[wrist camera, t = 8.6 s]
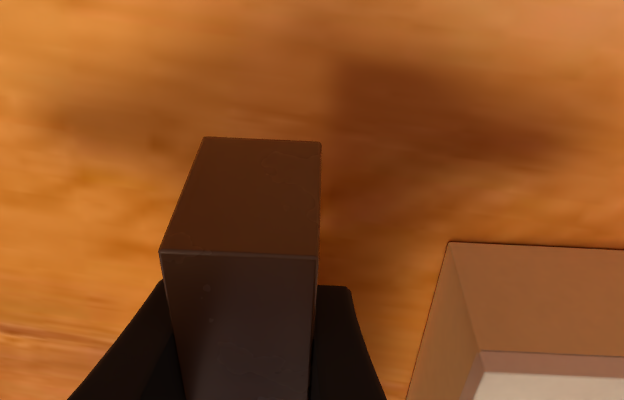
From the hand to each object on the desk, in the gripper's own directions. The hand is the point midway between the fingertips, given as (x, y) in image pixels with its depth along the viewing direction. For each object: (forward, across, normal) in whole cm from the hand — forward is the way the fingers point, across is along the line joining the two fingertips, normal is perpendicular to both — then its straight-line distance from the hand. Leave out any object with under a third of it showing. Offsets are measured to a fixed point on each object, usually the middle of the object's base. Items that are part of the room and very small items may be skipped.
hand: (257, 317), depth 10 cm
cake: (+6, -8, +8) cm, 13 cm away
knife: (+2, 0, +5) cm, 5 cm away
